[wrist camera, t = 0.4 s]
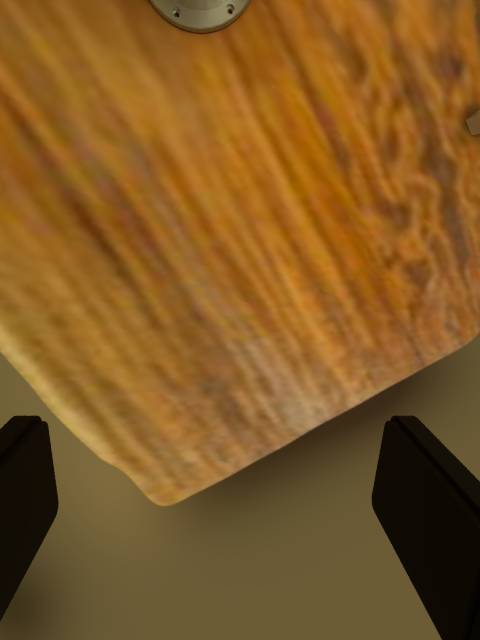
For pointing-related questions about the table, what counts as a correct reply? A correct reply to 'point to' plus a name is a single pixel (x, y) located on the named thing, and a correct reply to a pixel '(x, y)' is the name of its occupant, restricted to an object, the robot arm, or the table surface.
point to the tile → (474, 124)
